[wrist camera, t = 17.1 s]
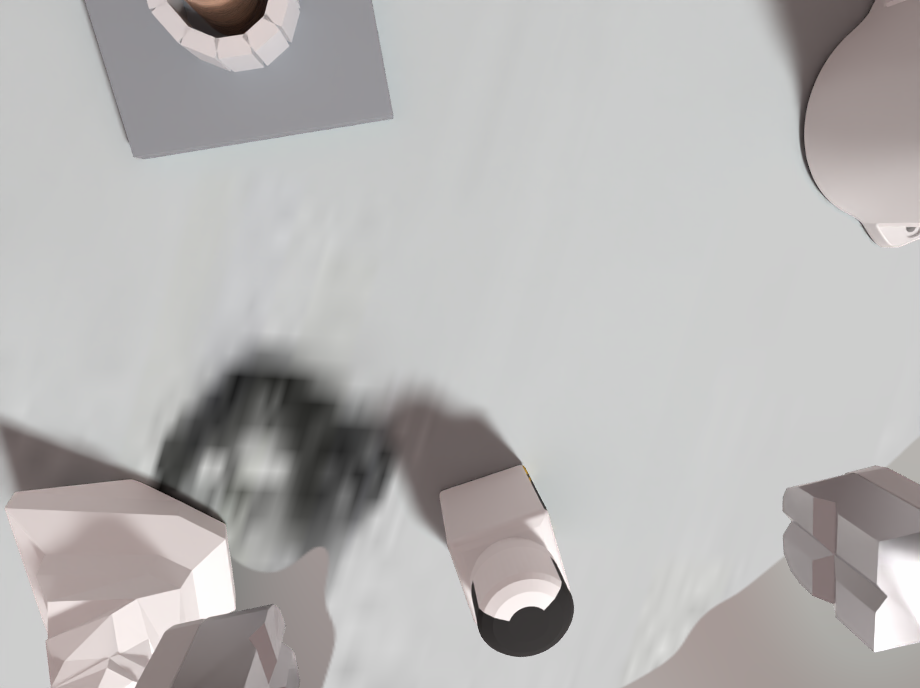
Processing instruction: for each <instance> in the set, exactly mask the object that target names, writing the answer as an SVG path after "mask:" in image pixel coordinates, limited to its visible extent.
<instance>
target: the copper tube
mask: <svg viewBox="0 0 920 688" xmlns="http://www.w3.org/2000/svg"><path fill="white" fill-rule="evenodd" d="M185 1H186V2H187V3H188V4H189V5H190V6H191V7H192V8H193V9H194V10H195V11H196V12H197V13H198V14H199V15H200V16H201V17H202V18H203V19H204V20H205V21H206V22H207V23H208V24H209V25H210V26H211V27H212V28H213V29H214V30H216V31H218V32H219V33H221V34H223V35H226V36H235V35H242V34H245V33H246V32H247V31H248V30H249V29H250V28H251V27H252V26H254V25H255V24H256V23H257V22H258V21H259V20H260V19H261V18H262V17H263V16H264V14H265V11H266V7H267V3H268V0H185Z"/></svg>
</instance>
